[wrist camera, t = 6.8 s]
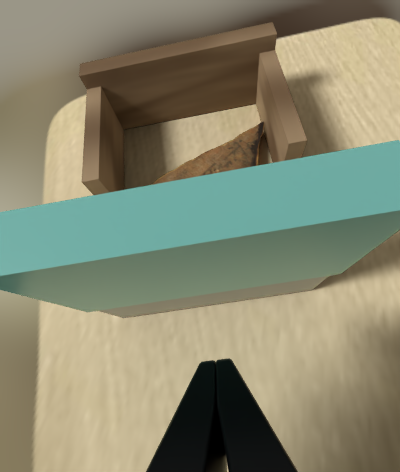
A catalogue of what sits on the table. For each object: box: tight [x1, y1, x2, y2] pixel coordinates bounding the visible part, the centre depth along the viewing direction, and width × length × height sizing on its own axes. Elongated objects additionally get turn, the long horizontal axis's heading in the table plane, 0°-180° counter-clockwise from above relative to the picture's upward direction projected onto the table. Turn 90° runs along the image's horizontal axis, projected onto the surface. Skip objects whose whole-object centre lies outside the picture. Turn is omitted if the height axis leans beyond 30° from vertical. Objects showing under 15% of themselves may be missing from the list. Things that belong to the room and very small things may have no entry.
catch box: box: [79, 22, 307, 195], centre depth 18 cm, size 9×13×5 cm
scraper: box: [0, 140, 400, 318], centre depth 12 cm, size 2×12×10 cm, turn 97°
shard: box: [151, 122, 264, 185], centre depth 18 cm, size 11×8×2 cm
